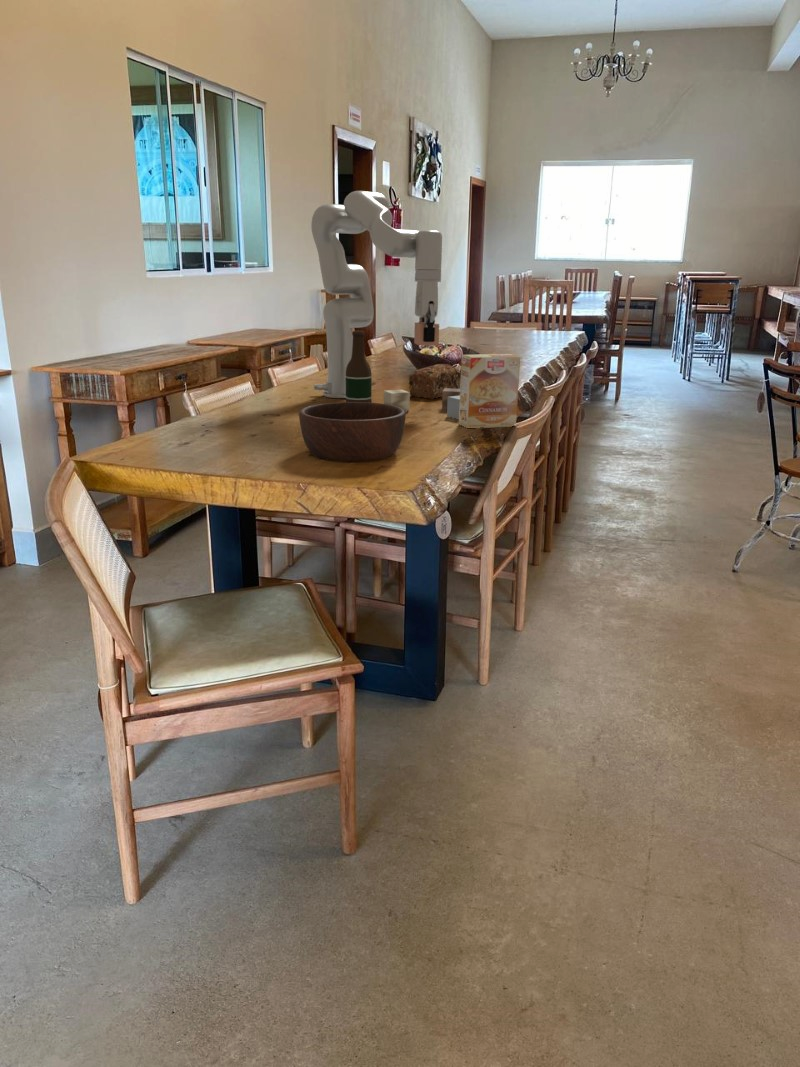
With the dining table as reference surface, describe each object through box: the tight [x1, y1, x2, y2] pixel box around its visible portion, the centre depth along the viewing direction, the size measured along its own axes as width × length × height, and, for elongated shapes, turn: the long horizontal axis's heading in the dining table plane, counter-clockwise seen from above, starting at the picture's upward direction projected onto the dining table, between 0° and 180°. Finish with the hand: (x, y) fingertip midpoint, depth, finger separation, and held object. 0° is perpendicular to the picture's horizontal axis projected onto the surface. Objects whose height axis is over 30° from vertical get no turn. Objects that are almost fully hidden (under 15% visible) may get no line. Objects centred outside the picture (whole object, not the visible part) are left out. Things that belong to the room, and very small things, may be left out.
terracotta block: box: [413, 321, 440, 346], centre depth 233 cm, size 6×6×6 cm
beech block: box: [383, 389, 411, 413], centre depth 242 cm, size 6×6×6 cm
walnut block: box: [441, 388, 460, 411], centre depth 246 cm, size 6×6×6 cm
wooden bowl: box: [298, 401, 407, 463], centre depth 187 cm, size 25×25×10 cm
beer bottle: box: [345, 330, 373, 403], centre depth 235 cm, size 8×8×24 cm
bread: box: [408, 363, 461, 400], centre depth 271 cm, size 19×11×10 cm, turn 145°
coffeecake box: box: [458, 353, 521, 429], centre depth 219 cm, size 15×7×20 cm, turn 108°
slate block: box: [446, 396, 460, 420], centre depth 233 cm, size 6×6×6 cm
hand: (426, 340), depth 233 cm, fingers closed on terracotta block, 6 cm apart
